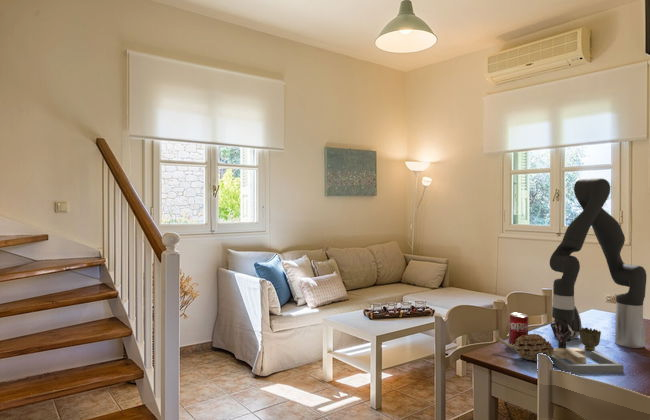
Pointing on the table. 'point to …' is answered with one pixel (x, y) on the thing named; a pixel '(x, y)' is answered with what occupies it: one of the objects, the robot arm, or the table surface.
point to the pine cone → (530, 346)
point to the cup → (589, 338)
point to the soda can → (517, 326)
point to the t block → (571, 354)
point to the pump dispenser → (576, 323)
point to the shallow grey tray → (590, 365)
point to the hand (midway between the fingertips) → (562, 351)
